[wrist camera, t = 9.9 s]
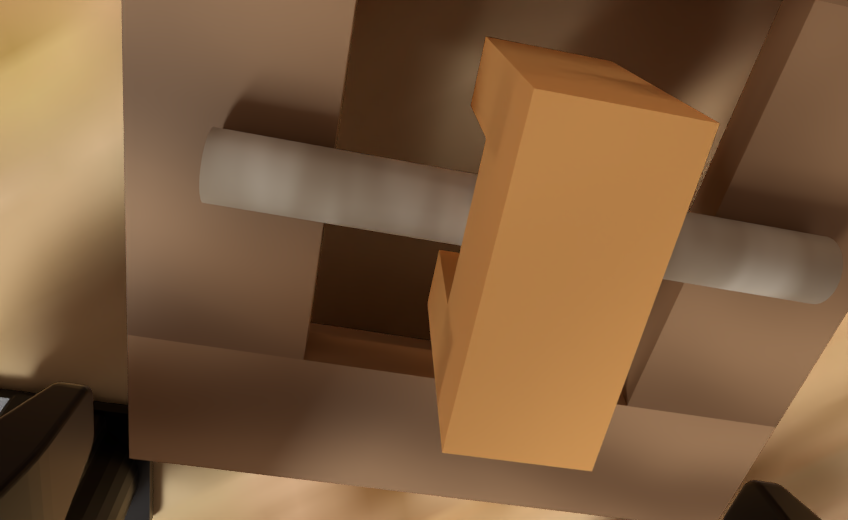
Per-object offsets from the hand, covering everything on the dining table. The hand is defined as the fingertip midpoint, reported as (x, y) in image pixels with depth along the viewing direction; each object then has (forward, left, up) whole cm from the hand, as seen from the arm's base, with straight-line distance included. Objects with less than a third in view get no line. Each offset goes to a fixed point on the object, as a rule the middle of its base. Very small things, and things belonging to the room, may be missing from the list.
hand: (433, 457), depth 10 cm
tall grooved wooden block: (0, -2, -9) cm, 10 cm away
